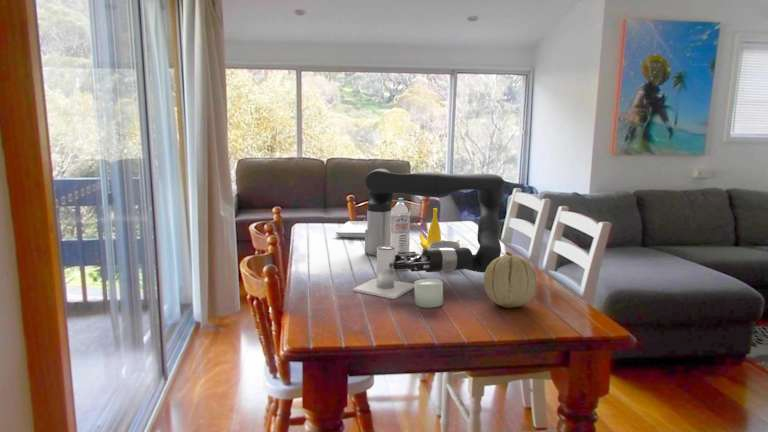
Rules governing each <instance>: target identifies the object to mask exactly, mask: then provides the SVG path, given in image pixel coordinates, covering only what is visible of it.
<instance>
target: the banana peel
mask: <svg viewBox="0 0 768 432" xmlns="http://www.w3.org/2000/svg"><path fill="white" fill-rule="evenodd" d="M432 211H433V214H432V215H433V216H432V219H431V221H430V225H429V227H428V228H429V229H428V233H427V237H426V238H427V239H426V238H425V237H424V235H423V234H419V240H420V242H421V243H420V245H421V248H422V249H423V250H424V249H426V248H430V244H431V243H433V242H437V241H441V240H442V234H441V227H440V223H439V220H438V216H437V215H438V208H437V207H434V208H432ZM455 242H458V243H460V239H458V240H456V241H455Z"/></svg>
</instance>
